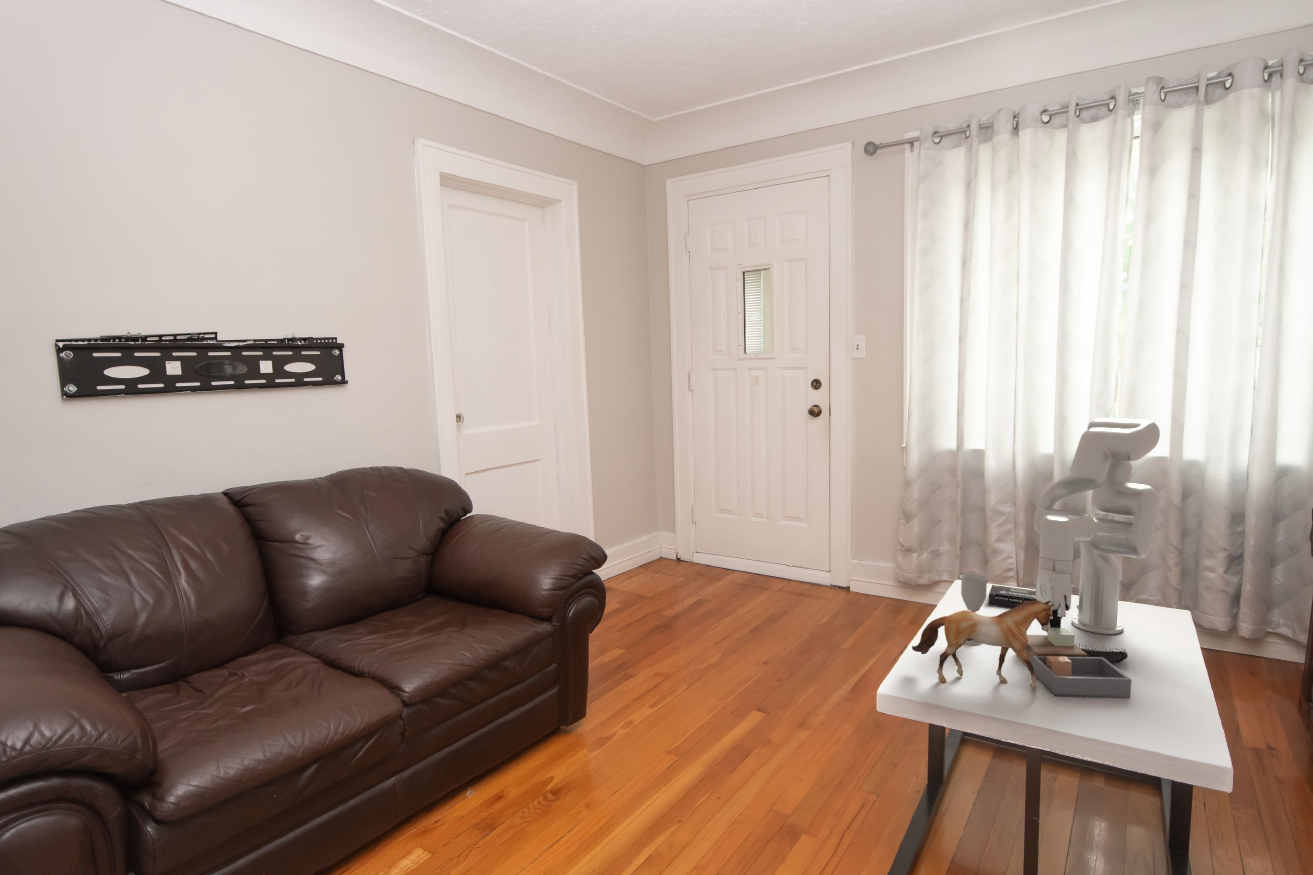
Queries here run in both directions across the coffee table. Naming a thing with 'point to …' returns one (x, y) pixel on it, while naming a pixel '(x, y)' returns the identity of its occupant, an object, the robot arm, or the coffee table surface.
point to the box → (1084, 678)
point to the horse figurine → (987, 634)
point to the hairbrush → (1106, 655)
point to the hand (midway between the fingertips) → (1052, 632)
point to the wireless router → (1010, 596)
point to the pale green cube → (1060, 637)
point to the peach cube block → (1059, 665)
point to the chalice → (973, 594)
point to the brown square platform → (1050, 648)
